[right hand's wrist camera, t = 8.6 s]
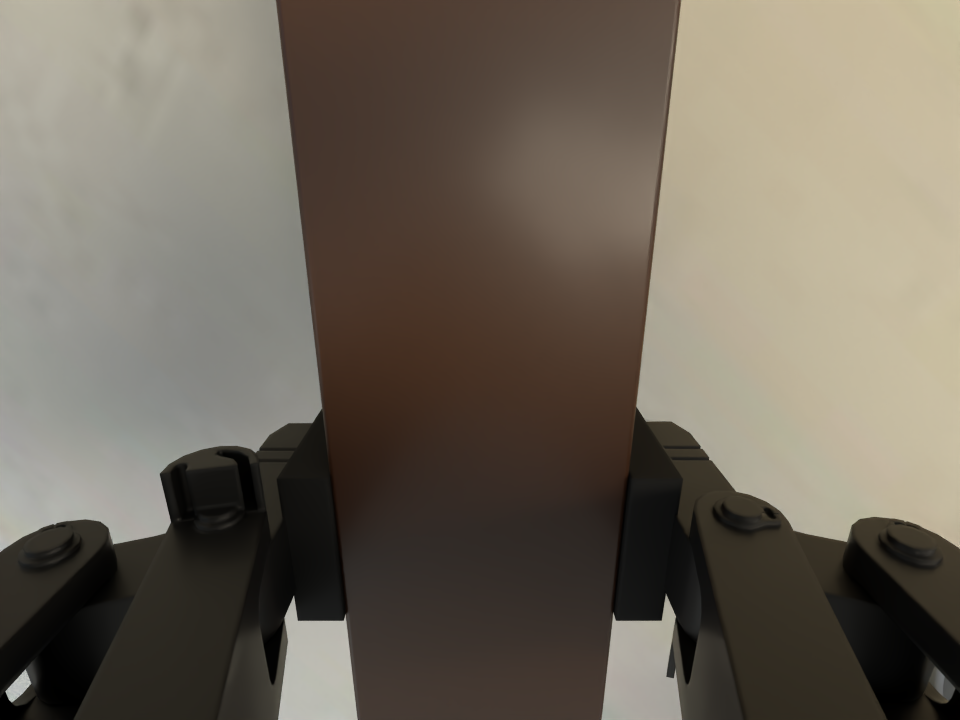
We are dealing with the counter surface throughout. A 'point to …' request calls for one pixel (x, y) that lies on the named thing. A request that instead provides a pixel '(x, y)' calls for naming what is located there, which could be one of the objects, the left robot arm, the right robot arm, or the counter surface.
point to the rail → (479, 330)
